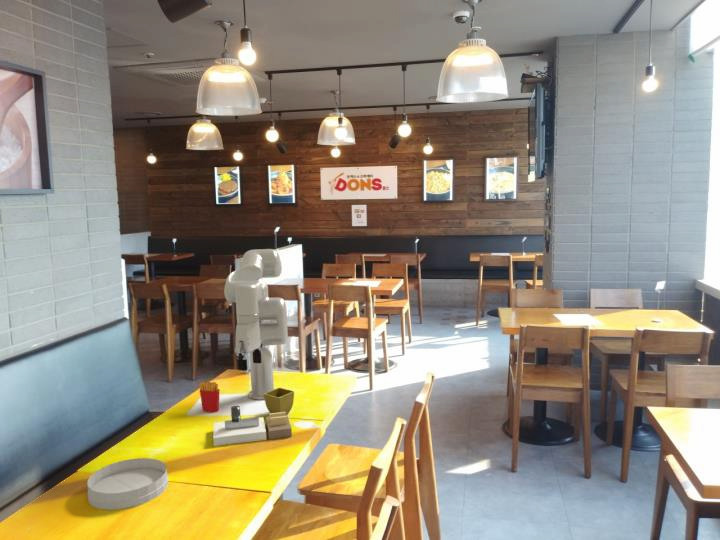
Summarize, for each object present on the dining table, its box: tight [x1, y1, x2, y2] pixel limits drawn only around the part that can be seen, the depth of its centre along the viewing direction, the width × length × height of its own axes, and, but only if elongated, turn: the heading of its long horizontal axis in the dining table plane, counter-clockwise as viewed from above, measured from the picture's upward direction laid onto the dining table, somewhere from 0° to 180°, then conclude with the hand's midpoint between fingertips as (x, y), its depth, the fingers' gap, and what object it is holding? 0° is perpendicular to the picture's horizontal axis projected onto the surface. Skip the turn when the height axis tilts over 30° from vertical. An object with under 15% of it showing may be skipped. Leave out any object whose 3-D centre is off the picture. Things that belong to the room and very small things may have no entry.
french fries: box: [198, 381, 220, 414], centre depth 231 cm, size 8×4×12 cm, turn 74°
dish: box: [86, 457, 169, 511], centre depth 168 cm, size 22×22×5 cm
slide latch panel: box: [212, 412, 293, 447], centre depth 207 cm, size 14×27×6 cm, turn 103°
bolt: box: [224, 405, 260, 430], centre depth 206 cm, size 3×12×7 cm, turn 103°
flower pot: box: [264, 387, 295, 415], centre depth 225 cm, size 9×9×9 cm
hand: (250, 366), depth 202 cm, fingers open, 9 cm apart
